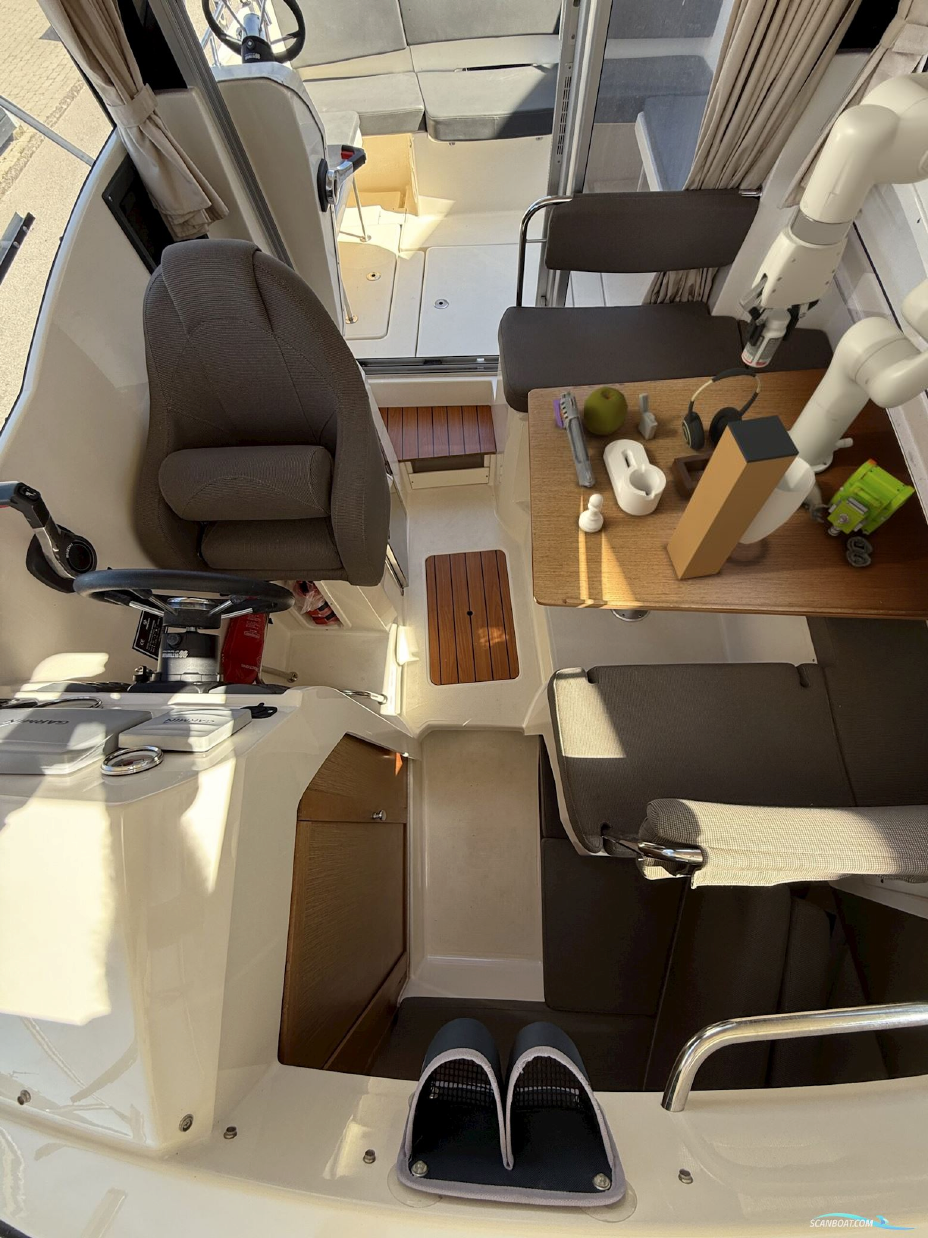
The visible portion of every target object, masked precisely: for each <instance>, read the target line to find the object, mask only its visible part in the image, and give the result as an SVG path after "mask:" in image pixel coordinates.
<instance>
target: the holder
mask: <svg viewBox="0 0 928 1238" xmlns="http://www.w3.org/2000/svg"><path fill="white" fill-rule="evenodd" d="M713 453H714V451H712V452H705V453H699V454H692V455H687V456H680V457H679V456H678V457H674V459H673V461H672V463H671V466H670V468H669V470H670V472H671V474H672V476H673V479H674V481H675V484H676V486H677V488H678V490H679V493H680V495H681V498H682V499H683V500H684V499H685V500H686V499H691V497H692V495H693V493H694V491H695V489H696V487H697V485H698V483H699V481H700V480H698V481H692V479H691V476H690V474H689V472H693V471H699V470H703V472H704V471H705V469H706V467H707V465H708V463H709V461H710V459H711V457H712V455H713Z"/></svg>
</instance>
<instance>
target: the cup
mask: <svg viewBox="0 0 928 1238" xmlns="http://www.w3.org/2000/svg"><path fill="white" fill-rule="evenodd" d="M815 475H816V473H815V474H814V471H813V470H812V468H811V467H810V465H809V464H808V463H807V462H805V461H804V460H803V459H801V458H800V457H796V458H795V460H794V461H793V463H792V464H791V466H790V467H789V469H788V470H787V472H786V473H785V474H784V476H783V477H782V479H781V480H780V482H779V483H778V485H777V486H776V488H775V489H774V491H773V492H772V494H771V495H770V496H769V498H768V499H767V501H766V502H765V504H764V505H763V507H762V508H761V510H760V511H759V513H758V514H757V515H756V517H755V518H754V520H753V521H752V523H751V524H750V526H749V527H748V529H747V530H746V532H745V533H744V535H743V536H742V537H741V539H740V540H739V542H738V543H741V544H742V545H743V544H745V545H748V544H749V545H750V544H753V543H757V542H759V541H760V540H762V539H765V538H766V537H768V536H769V535H770V534H772V533H773V532H774V531H776V530H777V529H779V528H780V527H781V526H782V525H784V524H785V523H786V522H787V521H789V519H790V518H792V516H793V515H794V513H796V512H797V510H798V509H799V508H800V507H801V505H802V504H803V503H802V502H803V501H804V499H805V498H806V496H807V495H808V493H809V492H810V491H811V489H812V487H813V485H814V483H815V480H816V476H815Z"/></svg>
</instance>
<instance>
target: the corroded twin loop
mask: <svg viewBox="0 0 928 1238" xmlns="http://www.w3.org/2000/svg"><path fill="white" fill-rule="evenodd" d="M846 545H847V549H848V550H846V556H845V557H846V558H847V561H848V562H849V563H850V564H851V565H853V566H854V567H856V568H859V567H866V566H869V565H870V564H871V563H872V562H871V561H872V559H871V557H870V556H869V555H870V554H871V553H872V552H873V551H874V548H873V547H872V545H871V543H870V541H868V540H867V539H866V538H864V537H862V536H860V535H859V536H857V535H856V536H852V537H850V538H849V539H848V540H847V543H846ZM854 545H855V546H854ZM859 547H863V548H864V549H863V548H859Z"/></svg>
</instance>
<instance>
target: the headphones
mask: <svg viewBox="0 0 928 1238" xmlns="http://www.w3.org/2000/svg"><path fill="white" fill-rule="evenodd" d="M741 376H742V377H743V376H749V377H752V378H755V380H756V382H757V389H756V390H755V391H754V392H753V394H752V395H751V398H750V399H748V401H747V402H746V403H745V404H744V405H743V406H742V408H740V409H737V408H736V407H733V406H725V407H723V408H721V409H719V410H718V411H717V412H716V413H715V414H714V416H713V417H712V419H711V421H710V424H709V428H708V436H709V440H710V442H711V443H712V444H713V445H714V446H716V447H717V445H718V443H719V441H720V439H721V437H722V435H723V433H724V431H725V429H726V427H727V425H728V423H729V422H735V421H741V420H743V416H744V415H745V414H746V412H747V411H748V410H749V409H750V408H751V406H752V405H753V403H755V401H756V399H757V397H758V396H759V394H760V391H761V387H762V386H761V380H760V378H759V376H758V375H757V373H755V372H754V371H753V370H751V369H748V368H743V367H733V368H730V369H727V370H724V371H723V372H720V373H718V374H717V375H714V377H712V378H710V379H709V381H707V382H706V383H705V384H703V385H702V386H701V387H700V388H698V390H697V391H695V393H694V394H693V396H692V397H691V399H690V401H689V404H688V407H687V413H686V414H685V415H684V417H683V420H682V421H681V431H682V435H683V438H684V441H685V444H686V445H687V447H688V448H690V449H691V450H693V451H699V450H702V449H703V448H704V447H705V445H706V432H705V428H704V424H703V421H702V418H701V417H700V414H699V413H698V412H697V411H695V410H694V405H695V402H696V401H695V400H696V398H697V397H698V395H699V394H700V393H701V392H703V390H704V389H705V388H707V387H709V386H710V385H711V384H712V383H716V382H718V381H721V380H725V379H727V378H734V377H735V378H736V377H741ZM693 410H694V411H693Z"/></svg>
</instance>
